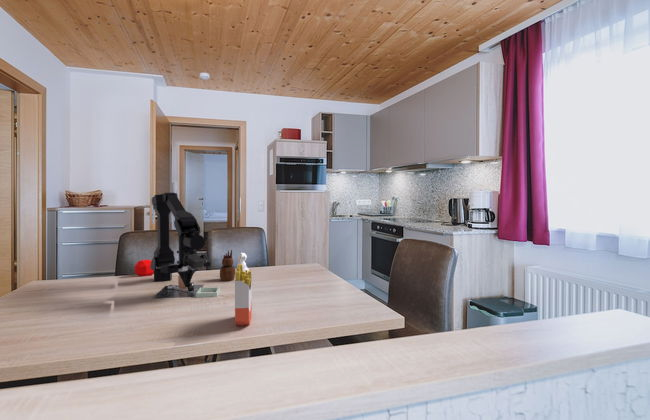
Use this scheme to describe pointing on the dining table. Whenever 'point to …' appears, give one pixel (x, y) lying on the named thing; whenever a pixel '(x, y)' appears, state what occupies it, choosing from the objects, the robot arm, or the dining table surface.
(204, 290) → the tray
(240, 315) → the french fries container
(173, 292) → the base plate
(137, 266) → the red piece
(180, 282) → the block
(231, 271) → the wooden figurine
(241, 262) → the sitting furry creature
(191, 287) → the crank
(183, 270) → the robot arm
